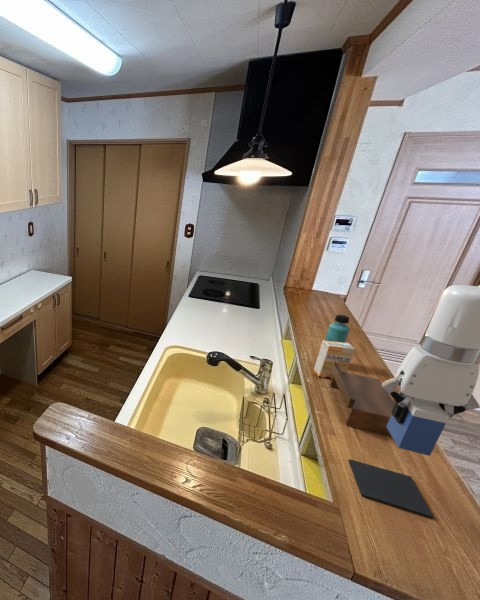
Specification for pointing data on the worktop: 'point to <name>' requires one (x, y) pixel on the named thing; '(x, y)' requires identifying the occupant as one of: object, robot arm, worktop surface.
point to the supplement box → (333, 357)
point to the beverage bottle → (338, 329)
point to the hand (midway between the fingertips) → (414, 422)
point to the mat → (389, 488)
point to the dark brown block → (364, 400)
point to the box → (419, 426)
